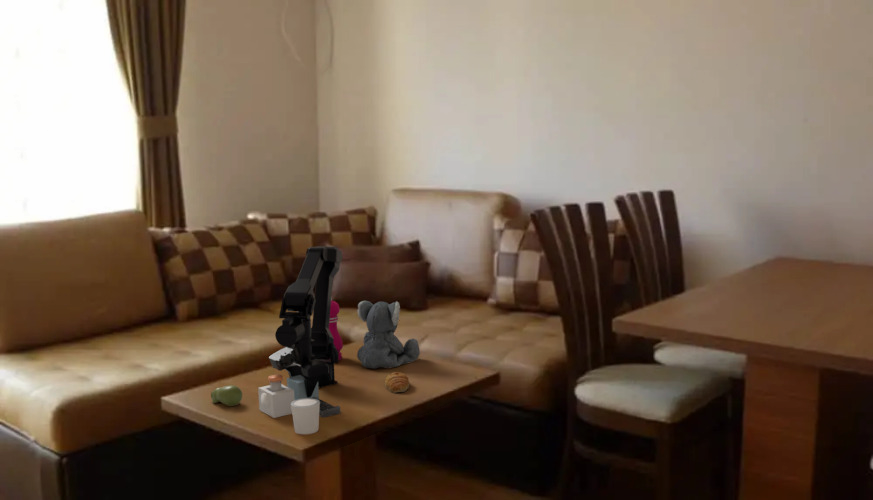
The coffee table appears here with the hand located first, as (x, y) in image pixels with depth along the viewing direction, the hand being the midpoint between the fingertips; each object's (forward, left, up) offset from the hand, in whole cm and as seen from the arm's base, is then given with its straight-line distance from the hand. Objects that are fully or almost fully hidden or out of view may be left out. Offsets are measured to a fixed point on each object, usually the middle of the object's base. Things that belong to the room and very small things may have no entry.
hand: (303, 394), depth 236 cm
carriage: (0, 0, -2) cm, 2 cm away
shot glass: (+10, +20, -2) cm, 22 cm away
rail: (0, +5, -2) cm, 5 cm away
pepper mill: (-27, -30, -2) cm, 41 cm away
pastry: (-26, +7, -2) cm, 27 cm away
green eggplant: (+16, -12, -2) cm, 21 cm away
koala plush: (-37, -16, -2) cm, 41 cm away
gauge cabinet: (+9, +3, -2) cm, 10 cm away
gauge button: (+9, +2, +1) cm, 9 cm away
